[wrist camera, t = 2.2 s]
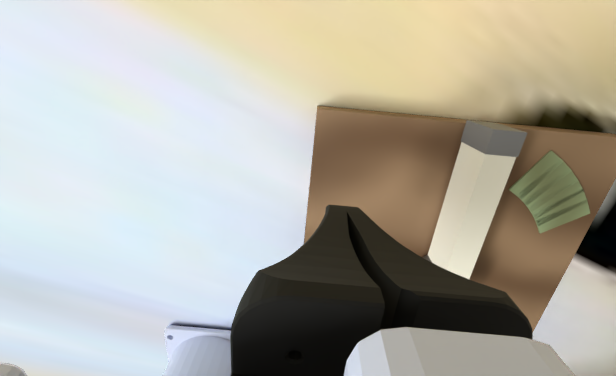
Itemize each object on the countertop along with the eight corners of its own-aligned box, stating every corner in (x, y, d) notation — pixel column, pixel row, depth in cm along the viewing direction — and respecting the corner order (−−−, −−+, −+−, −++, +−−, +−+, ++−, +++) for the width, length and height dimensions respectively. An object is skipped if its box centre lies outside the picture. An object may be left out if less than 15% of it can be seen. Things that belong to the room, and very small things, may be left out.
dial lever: (449, 289, 20) (466, 319, 18) (406, 286, 20) (419, 315, 18) (508, 123, 16) (542, 133, 13) (454, 118, 16) (478, 128, 13)
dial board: (498, 359, 25) (509, 377, 24) (294, 341, 25) (292, 358, 24) (611, 133, 18) (638, 139, 16) (317, 105, 17) (317, 109, 16)
